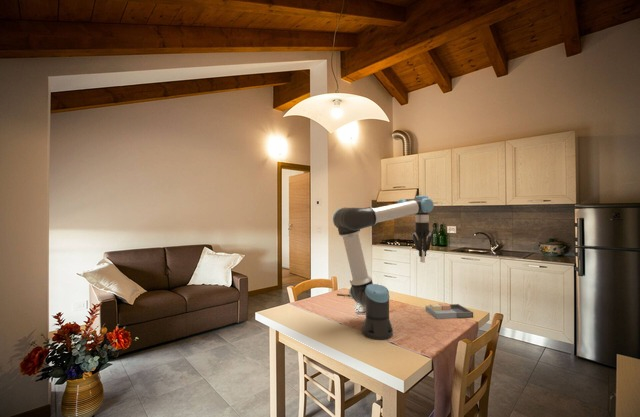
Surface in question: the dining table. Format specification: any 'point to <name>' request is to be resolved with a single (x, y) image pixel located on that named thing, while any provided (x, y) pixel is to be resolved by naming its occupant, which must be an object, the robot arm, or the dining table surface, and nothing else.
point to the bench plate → (442, 313)
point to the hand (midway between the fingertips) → (422, 262)
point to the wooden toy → (346, 294)
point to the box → (461, 311)
